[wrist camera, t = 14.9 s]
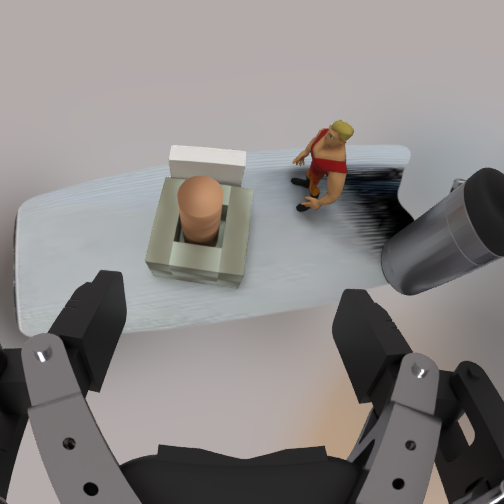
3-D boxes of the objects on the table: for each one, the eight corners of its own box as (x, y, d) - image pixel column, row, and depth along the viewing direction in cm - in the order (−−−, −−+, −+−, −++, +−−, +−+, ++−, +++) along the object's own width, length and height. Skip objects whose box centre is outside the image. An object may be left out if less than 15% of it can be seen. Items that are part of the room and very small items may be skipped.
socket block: (246, 213, 39) (253, 189, 33) (237, 288, 35) (243, 275, 30) (170, 202, 38) (165, 177, 32) (154, 276, 34) (145, 261, 29)
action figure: (284, 166, 42) (317, 89, 28) (307, 167, 43) (346, 94, 29) (296, 226, 39) (341, 158, 25) (321, 225, 40) (374, 161, 26)
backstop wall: (237, 193, 39) (246, 151, 31) (236, 206, 39) (245, 166, 30) (177, 188, 38) (172, 145, 30) (174, 201, 38) (168, 159, 29)
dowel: (219, 223, 36) (224, 177, 26) (217, 255, 34) (221, 216, 25) (185, 221, 35) (180, 174, 26) (182, 253, 34) (174, 213, 24)
